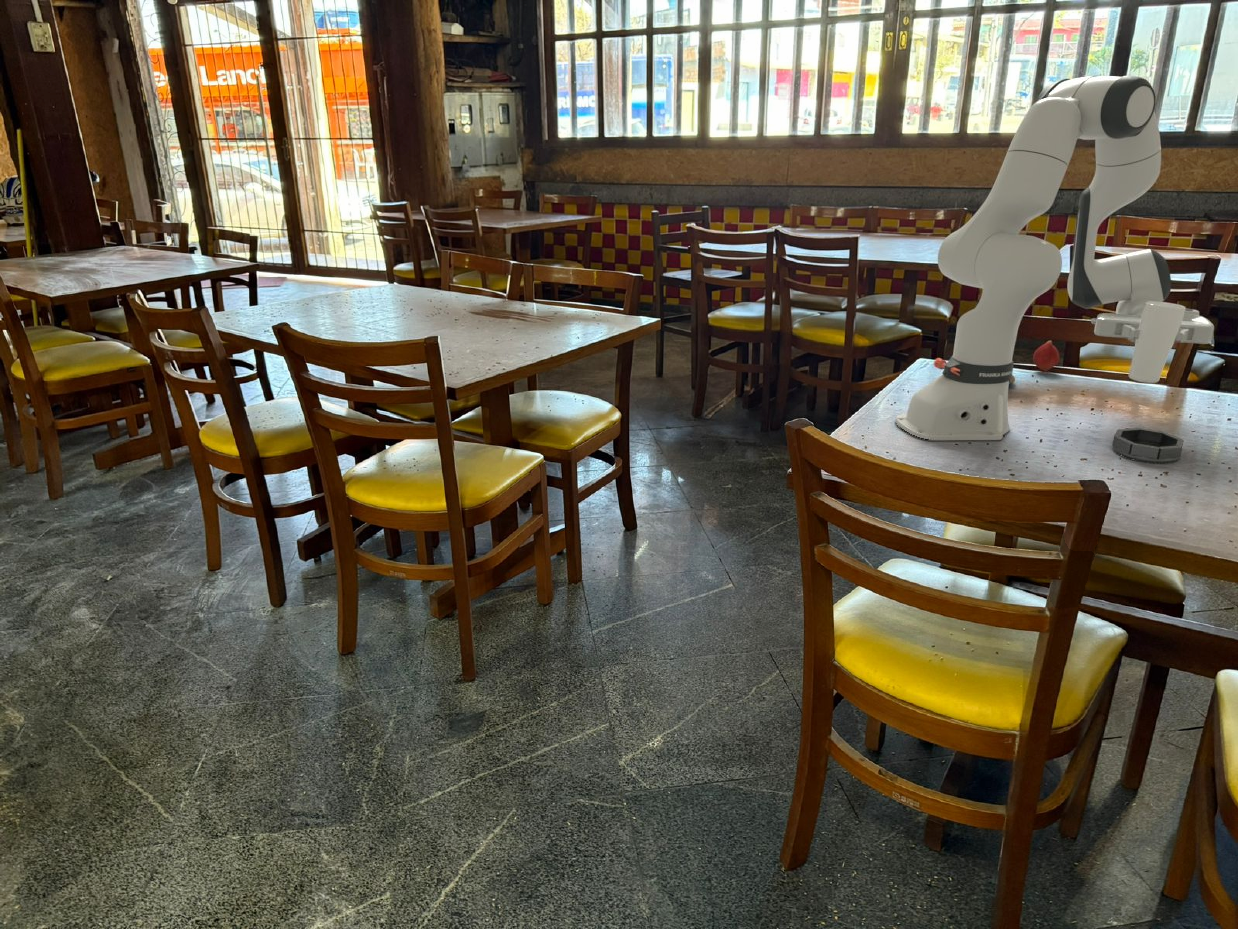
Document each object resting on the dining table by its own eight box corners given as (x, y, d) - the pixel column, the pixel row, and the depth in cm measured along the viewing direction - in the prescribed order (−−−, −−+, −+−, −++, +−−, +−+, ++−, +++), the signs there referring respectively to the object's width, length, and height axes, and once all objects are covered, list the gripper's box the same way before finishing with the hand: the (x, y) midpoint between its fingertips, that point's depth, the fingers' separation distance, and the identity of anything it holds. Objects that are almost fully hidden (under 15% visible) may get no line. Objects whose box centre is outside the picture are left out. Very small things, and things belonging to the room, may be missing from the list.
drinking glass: (1160, 387, 161) (1184, 309, 156) (1121, 379, 165) (1143, 303, 160) (1164, 380, 167) (1187, 305, 161) (1125, 373, 170) (1147, 299, 165)
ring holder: (1140, 465, 153) (1144, 450, 152) (1099, 445, 163) (1102, 430, 162) (1194, 461, 154) (1198, 446, 153) (1149, 441, 164) (1152, 426, 163)
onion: (1027, 371, 211) (1033, 340, 209) (1035, 367, 215) (1040, 336, 212) (1052, 376, 208) (1057, 344, 205) (1059, 371, 212) (1065, 340, 209)
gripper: (1093, 303, 176) (1100, 316, 164) (1207, 310, 169) (1223, 324, 157) (1086, 333, 178) (1093, 347, 166) (1199, 341, 171) (1214, 357, 159)
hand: (1157, 336), depth 162 cm, fingers closed on drinking glass, 6 cm apart
